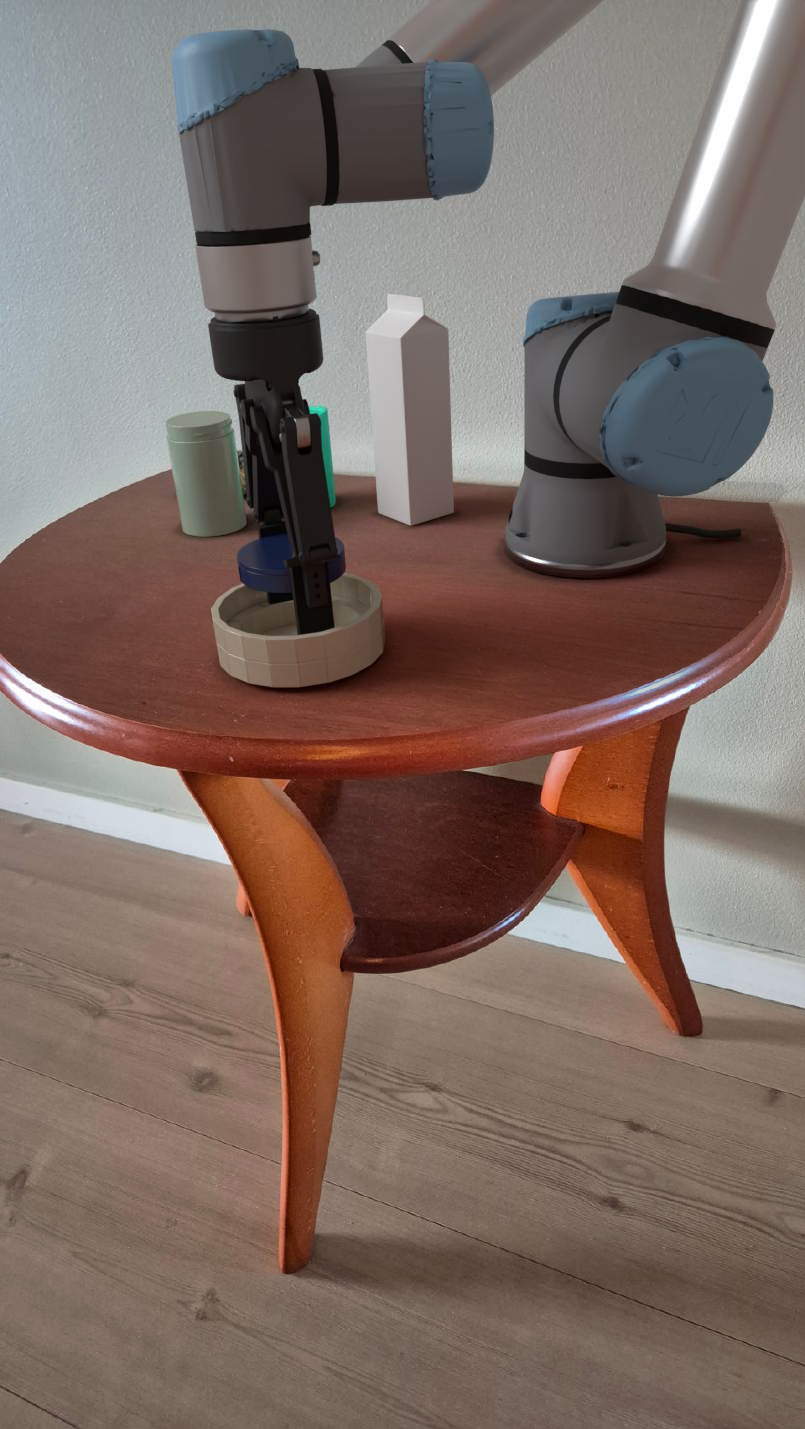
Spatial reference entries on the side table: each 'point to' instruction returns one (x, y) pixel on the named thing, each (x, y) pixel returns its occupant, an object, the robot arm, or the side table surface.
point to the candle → (326, 450)
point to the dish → (298, 636)
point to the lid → (276, 564)
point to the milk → (410, 412)
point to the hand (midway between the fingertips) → (300, 619)
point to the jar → (206, 473)
